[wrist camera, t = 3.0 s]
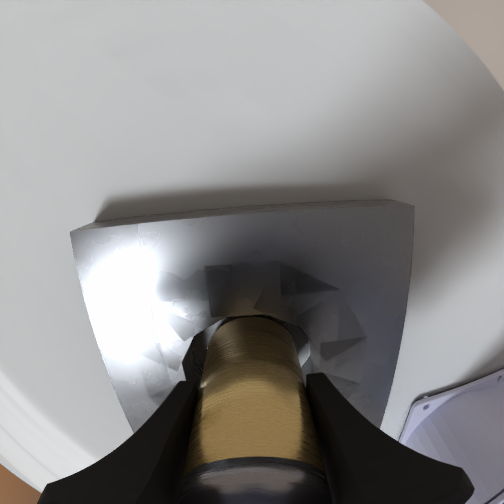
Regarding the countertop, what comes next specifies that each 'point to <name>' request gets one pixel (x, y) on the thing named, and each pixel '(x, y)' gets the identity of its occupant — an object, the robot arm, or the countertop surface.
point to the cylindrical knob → (253, 423)
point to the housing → (249, 291)
